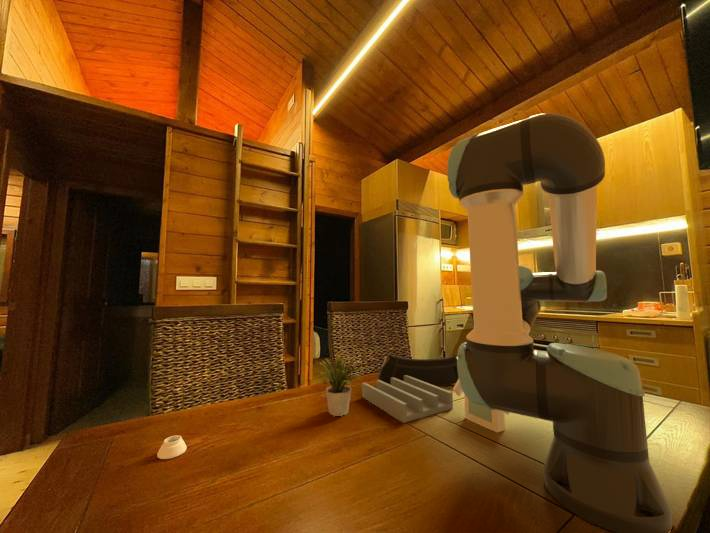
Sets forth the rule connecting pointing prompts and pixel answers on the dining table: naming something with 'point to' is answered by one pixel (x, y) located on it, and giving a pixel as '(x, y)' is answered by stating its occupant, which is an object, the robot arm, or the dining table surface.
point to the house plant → (339, 385)
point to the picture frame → (484, 416)
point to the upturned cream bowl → (172, 447)
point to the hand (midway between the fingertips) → (478, 401)
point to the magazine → (420, 370)
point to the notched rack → (408, 398)
